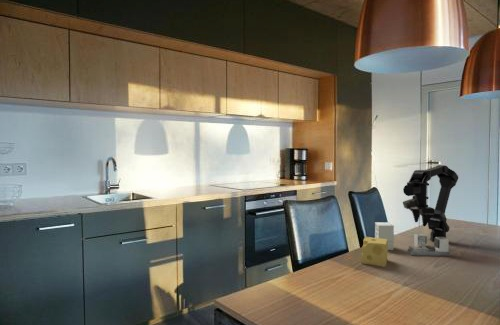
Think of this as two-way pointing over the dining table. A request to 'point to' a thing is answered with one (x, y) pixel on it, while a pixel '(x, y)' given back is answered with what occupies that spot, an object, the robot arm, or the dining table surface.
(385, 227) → the supplement box
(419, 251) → the rail
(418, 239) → the block
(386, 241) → the cheese
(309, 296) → the dining table surface
